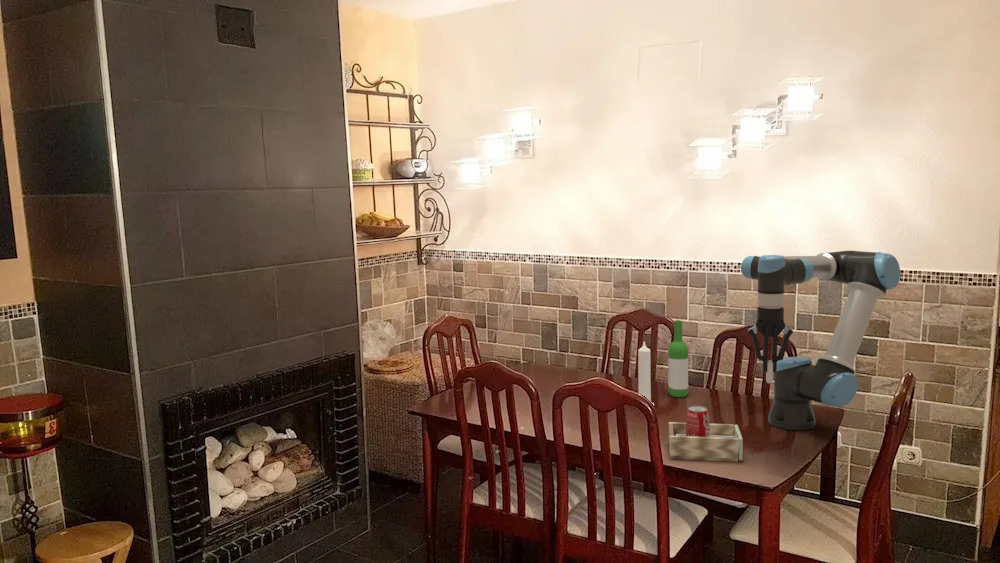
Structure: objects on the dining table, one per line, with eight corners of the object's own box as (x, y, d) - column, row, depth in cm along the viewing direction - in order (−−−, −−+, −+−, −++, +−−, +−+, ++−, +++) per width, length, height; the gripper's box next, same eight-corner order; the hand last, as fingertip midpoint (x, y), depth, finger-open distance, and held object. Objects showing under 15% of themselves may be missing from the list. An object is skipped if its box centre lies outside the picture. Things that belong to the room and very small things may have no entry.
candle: (631, 404, 273) (630, 340, 269) (646, 401, 275) (646, 338, 272) (642, 409, 266) (641, 344, 263) (657, 406, 269) (657, 342, 266)
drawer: (737, 444, 227) (737, 424, 226) (742, 460, 214) (742, 439, 213) (675, 442, 231) (675, 422, 230) (677, 457, 218) (677, 436, 217)
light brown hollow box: (732, 445, 228) (733, 424, 227) (738, 461, 214) (738, 439, 213) (668, 442, 232) (668, 422, 231) (669, 458, 218) (669, 436, 217)
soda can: (706, 441, 226) (707, 404, 225) (711, 449, 219) (711, 412, 218) (684, 441, 227) (684, 404, 225) (687, 449, 220) (687, 412, 218)
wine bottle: (679, 391, 288) (679, 318, 284) (692, 396, 281) (692, 321, 277) (664, 394, 285) (663, 320, 280) (676, 399, 278) (676, 323, 274)
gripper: (791, 304, 217) (789, 379, 221) (746, 304, 220) (745, 378, 223) (796, 308, 210) (794, 386, 213) (749, 308, 213) (748, 384, 216)
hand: (769, 381), depth 218 cm, fingers closed
